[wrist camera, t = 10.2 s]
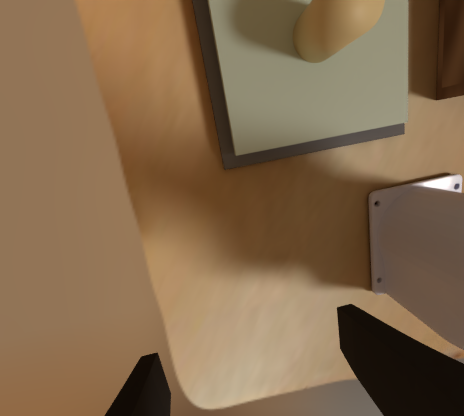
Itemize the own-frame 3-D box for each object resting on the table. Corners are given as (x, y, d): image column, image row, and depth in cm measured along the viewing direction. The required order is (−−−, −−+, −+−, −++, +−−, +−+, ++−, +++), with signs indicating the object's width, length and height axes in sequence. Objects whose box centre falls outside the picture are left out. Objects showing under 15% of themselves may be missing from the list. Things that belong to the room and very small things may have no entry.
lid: (394, 123, 19) (466, 115, 14) (233, 155, 18) (247, 158, 13) (392, -84, 15) (486, -195, 10) (195, -60, 14) (193, -168, 9)
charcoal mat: (400, 134, 19) (404, 134, 19) (224, 169, 18) (224, 169, 18) (399, -94, 16) (404, -100, 15) (179, -67, 15) (178, -73, 14)
